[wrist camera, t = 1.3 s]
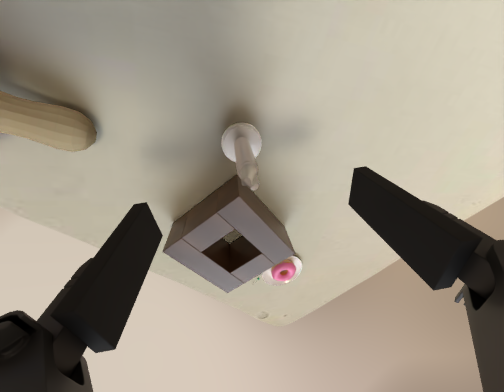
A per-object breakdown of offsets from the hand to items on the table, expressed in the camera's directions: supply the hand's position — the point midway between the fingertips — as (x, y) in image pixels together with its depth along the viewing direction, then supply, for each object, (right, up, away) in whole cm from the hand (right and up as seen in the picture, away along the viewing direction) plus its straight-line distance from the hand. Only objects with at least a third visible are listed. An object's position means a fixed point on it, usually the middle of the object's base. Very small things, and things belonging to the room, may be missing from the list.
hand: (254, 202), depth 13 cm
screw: (-2, +8, +13) cm, 15 cm away
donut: (+5, -15, +27) cm, 31 cm away
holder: (-4, -4, +20) cm, 20 cm away
